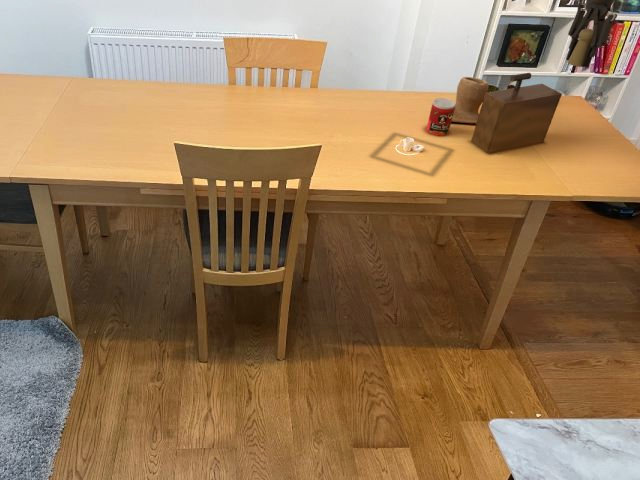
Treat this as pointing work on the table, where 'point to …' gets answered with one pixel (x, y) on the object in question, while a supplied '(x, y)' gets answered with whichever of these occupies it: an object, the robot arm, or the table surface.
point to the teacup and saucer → (410, 146)
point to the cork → (581, 47)
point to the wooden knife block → (515, 116)
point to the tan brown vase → (469, 99)
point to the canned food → (440, 116)
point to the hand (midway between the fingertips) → (577, 62)
